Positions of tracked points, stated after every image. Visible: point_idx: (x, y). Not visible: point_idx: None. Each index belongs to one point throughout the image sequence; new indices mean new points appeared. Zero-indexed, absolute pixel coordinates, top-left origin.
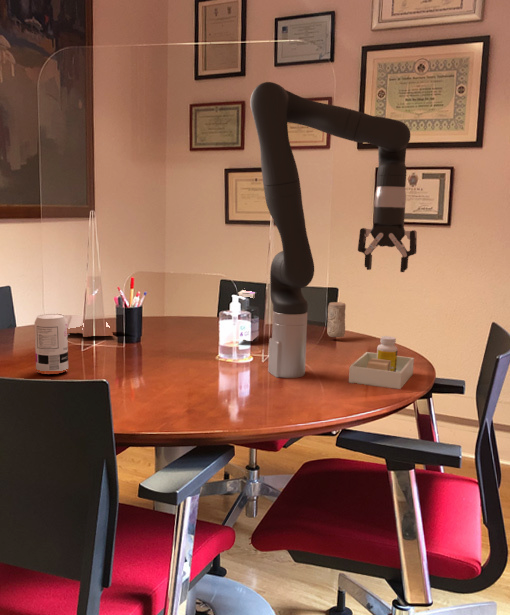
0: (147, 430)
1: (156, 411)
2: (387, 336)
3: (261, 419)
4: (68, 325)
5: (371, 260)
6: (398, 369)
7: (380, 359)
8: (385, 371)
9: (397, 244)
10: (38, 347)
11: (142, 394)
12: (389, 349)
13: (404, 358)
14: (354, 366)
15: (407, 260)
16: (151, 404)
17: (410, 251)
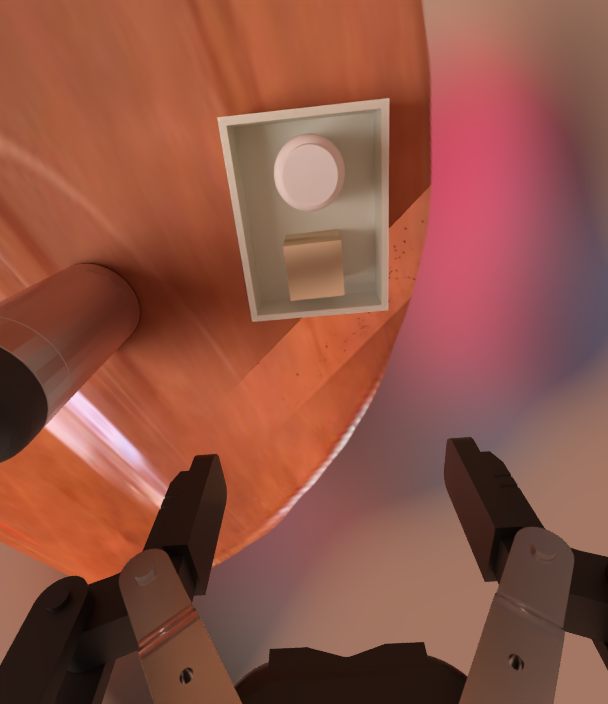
0: None
1: (99, 555)
2: (300, 154)
3: (228, 520)
4: None
5: (203, 510)
6: (335, 116)
7: (310, 245)
8: (347, 313)
9: (475, 668)
10: None
11: (19, 523)
12: (325, 206)
13: (356, 111)
14: (263, 318)
15: (527, 520)
16: (69, 543)
17: (603, 645)
